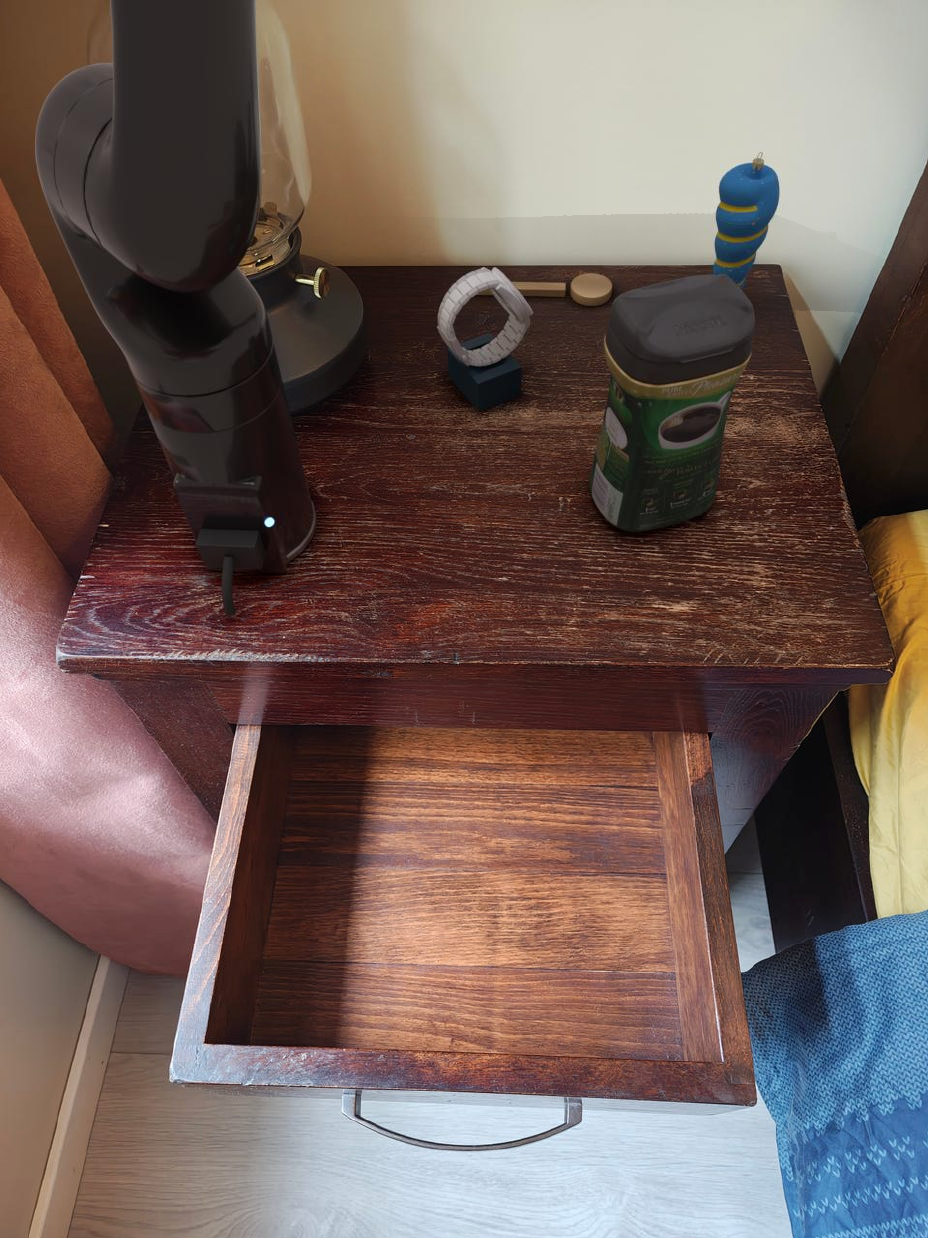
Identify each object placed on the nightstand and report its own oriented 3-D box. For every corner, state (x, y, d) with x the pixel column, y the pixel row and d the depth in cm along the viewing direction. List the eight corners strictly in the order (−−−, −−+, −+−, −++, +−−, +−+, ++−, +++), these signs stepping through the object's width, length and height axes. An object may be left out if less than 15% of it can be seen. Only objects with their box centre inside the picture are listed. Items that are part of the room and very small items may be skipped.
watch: (539, 387, 82) (545, 278, 73) (461, 419, 79) (456, 310, 71) (507, 353, 84) (509, 244, 76) (431, 382, 82) (423, 274, 73)
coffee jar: (681, 449, 76) (726, 247, 61) (725, 516, 72) (786, 315, 57) (574, 477, 75) (593, 276, 60) (612, 547, 70) (643, 349, 55)
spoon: (611, 306, 88) (612, 297, 87) (472, 303, 89) (472, 294, 88) (610, 282, 90) (611, 273, 90) (475, 279, 91) (475, 270, 91)
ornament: (683, 310, 87) (714, 154, 75) (714, 286, 90) (748, 130, 77) (729, 332, 85) (768, 176, 73) (759, 307, 87) (802, 150, 75)
